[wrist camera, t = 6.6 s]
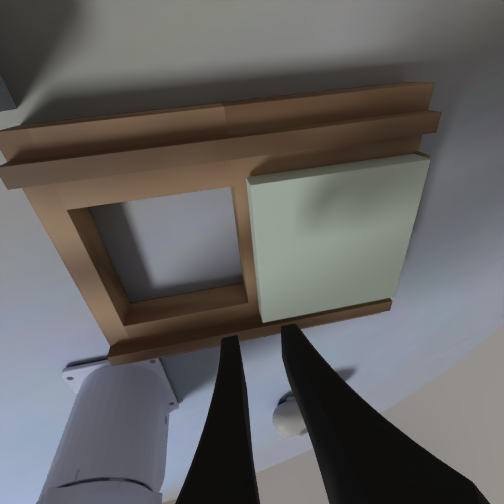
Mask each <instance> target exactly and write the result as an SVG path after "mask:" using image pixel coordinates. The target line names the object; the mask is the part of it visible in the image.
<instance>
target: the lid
mask: <svg viewBox="0 0 504 504" xmlns="http://www.w3.org/2000/svg"><path fill="white" fill-rule="evenodd" d="M430 161H431V159H428V158H425V157H423V156H420V155H417V154H407V155H400V156H393V157H385V158H378V159H371V160H364V161H357V162H350V163H343V164H336V165H329V166H322V167H314V168H307V169H300V170H293V171H286V172H279V173H272V174H265V175H258V176H250V177H246V182H247V193H248V203H249V213H250V223H251V233H252V244H253V254H254V264H255V274H256V284H257V295H258V305H259V311H260V315H261V318H262V322H263V323H265V322H270V321H275V320H280V319H285V318H290V317H295V316H300V315H305V314H310V313H315V312H320V311H325V310H330V309H336V308H341V307H346V306H351V305H356V304H361V303H366V302H371V301H376V300H381V299H386V298H391V297H395V294H396V290H397V286H398V283H399V279H400V275H401V271H402V267H403V264H404V260H405V256H406V252H407V248H408V245H409V241H410V237H411V233H412V229H413V226H414V222H415V218H416V214H417V210H418V207H419V203H420V199H421V195H422V191H423V188H424V184H425V180H426V176H427V172H428V169H429V165H430Z"/></svg>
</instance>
